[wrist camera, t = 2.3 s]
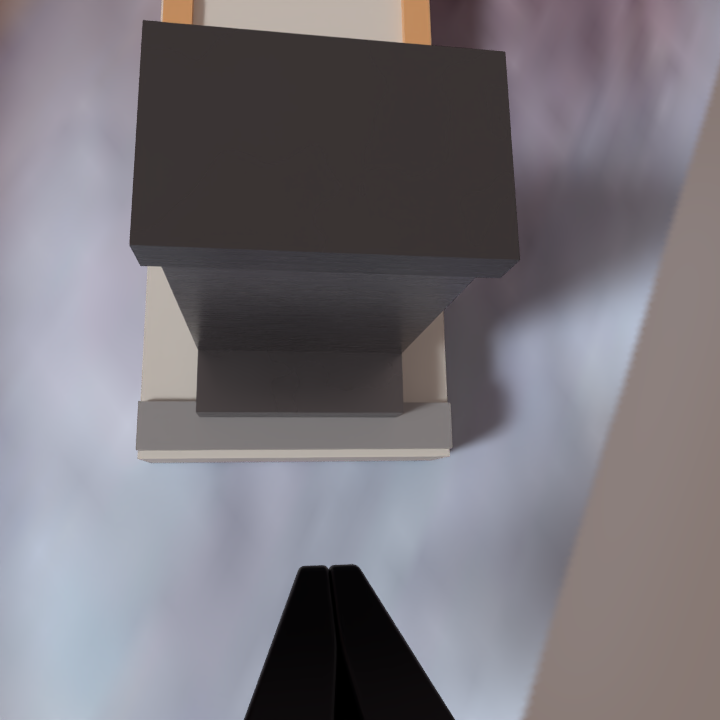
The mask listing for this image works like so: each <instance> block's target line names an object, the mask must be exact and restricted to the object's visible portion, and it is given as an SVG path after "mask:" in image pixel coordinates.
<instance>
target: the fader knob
mask: <svg viewBox="0 0 720 720" xmlns="http://www.w3.org/2000/svg"><path fill="white" fill-rule="evenodd" d="M130 247H131V249H132V251H133V253H134V255H135V256H136V258H137V260H138V262H139V264H140V266H157V267H162V269H163V271H164V274H165V276H166V278H167V281H168V283H169V285H170V287H171V290H172V292H173V294H174V297H175V299H176V301H177V303H178V306H179V308H180V310H181V313H182V315H183V317H184V319H185V322H186V324H187V326H188V329H189V331H190V333H191V335H192V338H193V340H194V342H195V345H196V347H197V349H198V363H197V391H196V413H197V415H198V416H199V417H353V418H396V417H397V416H399V415H401V414H402V413H404V407H403V374H402V353H403V352H404V351H405V350H406V349H407V348H408V347H409V345H410V344H411V343H412V342H413V341H414V340H415V339H416V338H417V337H418V336H419V335H420V334H421V333H422V332H423V331H424V330H425V329H426V328H427V327H428V326H429V325H430V324H431V323H432V322H433V321H434V320H435V319H436V318H437V317H438V316H439V315H440V314H441V312H442V311H443V310H444V309H445V308H446V307H447V306H448V305H449V304H450V303H451V302H452V301H453V300H454V299H455V298H456V297H457V296H458V295H459V294H460V293H461V292H462V291H463V290H464V289H465V288H466V287H467V286H468V285H469V284H470V283H471V282H472V281H473V279H474V278H475V277H484V278H501V277H502V276H503V275H504V274H505V273H506V272H507V271H508V270H509V269H511V268H512V267H513V266H514V265H515V264H516V263H517V262H518V261H519V260H520V255H519V241H518V226H517V212H516V198H515V184H514V170H513V155H512V141H511V127H510V113H509V98H508V84H507V70H506V56H505V52H503V51H491V50H480V49H468V48H457V47H445V46H434V45H422V44H411V43H399V42H388V41H376V40H365V39H353V38H342V37H330V36H319V35H307V34H296V33H284V32H273V31H261V30H250V29H238V28H226V27H215V26H203V25H192V24H180V23H169V22H157V21H146V20H143V26H142V43H141V60H140V77H139V94H138V110H137V127H136V144H135V161H134V178H133V194H132V211H131V228H130Z"/></svg>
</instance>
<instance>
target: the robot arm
mask: <svg viewBox="0 0 720 720" xmlns="http://www.w3.org/2000/svg"><path fill="white" fill-rule="evenodd" d="M244 720H455V719H454V717H453V716H452V714H451V713H450V711H449V709H448V708H447V706H446V705H445V703H444V702H443V700H442V698H441V697H440V695H439V694H438V692H437V690H436V689H435V687H434V686H433V684H432V682H431V681H430V679H429V678H428V676H427V674H426V673H425V671H424V670H423V668H422V666H421V665H420V663H419V662H418V660H417V658H416V657H415V655H414V654H413V652H412V650H411V649H410V647H409V646H408V644H407V643H406V641H405V639H404V638H403V636H402V635H401V633H400V631H399V630H398V628H397V627H396V625H395V623H394V622H393V620H392V619H391V617H390V615H389V614H388V612H387V611H386V609H385V607H384V606H383V604H382V603H381V601H380V599H379V598H378V596H377V595H376V593H375V591H374V590H373V588H372V587H371V585H370V584H369V582H368V580H367V579H366V577H365V576H364V574H363V572H362V571H361V569H360V568H359V567H358V566H356V565H353V564H349V565H332V566H331V567H330V568H329V570H328V568H327V567H326V566H323V565H319V566H302V567H300V569H299V570H298V572H297V575H296V578H295V580H294V583H293V586H292V589H291V591H290V594H289V597H288V600H287V602H286V605H285V608H284V611H283V613H282V616H281V619H280V622H279V624H278V627H277V630H276V633H275V635H274V638H273V641H272V644H271V647H270V649H269V652H268V655H267V658H266V660H265V663H264V666H263V669H262V671H261V674H260V677H259V680H258V682H257V685H256V688H255V691H254V693H253V696H252V699H251V702H250V704H249V707H248V710H247V713H246V715H245V718H244Z"/></svg>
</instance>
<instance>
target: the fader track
mask: <svg viewBox="0 0 720 720" xmlns="http://www.w3.org/2000/svg"><path fill="white" fill-rule="evenodd" d="M161 22H169V23H180V24H192V25H203V26H215V27H226V28H238V29H250V30H261V31H273V32H284V33H296V34H307V35H319V36H330V37H342V38H353V39H365V40H376V41H388V42H399V43H411V44H422V45H431V22H430V0H162V8H161ZM197 363H198V349H197V347H196V345H195V342H194V340H193V338H192V335H191V333H190V331H189V329H188V326H187V324H186V322H185V319H184V317H183V315H182V313H181V310H180V308H179V306H178V303H177V301H176V299H175V297H174V294H173V292H172V290H171V287H170V285H169V283H168V281H167V278H166V276H165V274H164V271H163V269H162V267H157V266H148V272H147V290H146V309H145V328H144V347H143V366H142V385H141V401H138V417H137V435H136V450H137V451H138V459H140V460H143V461H146V462H149V463H204V462H316V461H428V460H435V459H440V458H444V457H449V456H450V452H449V449H451V448H453V447H452V425H451V403H447V384H446V362H445V339H444V316H443V311H442V312H441V314H440V315H439V316H438V317H437V318H436V319H435V320H434V321H433V322H432V323H431V324H430V325H429V326H428V327H427V328H426V329H425V330H424V331H423V332H422V333H421V334H420V335H419V336H418V337H417V338H416V339H415V340H414V341H413V342H412V343H411V344H410V345H409V347H408V348H407V349H406V350H405V351H404V352H403V353H402V374H403V407H404V413H402V414H401V415H399V416H397V417H396V418H353V417H199V416H198V415H197V413H196V391H197Z"/></svg>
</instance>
